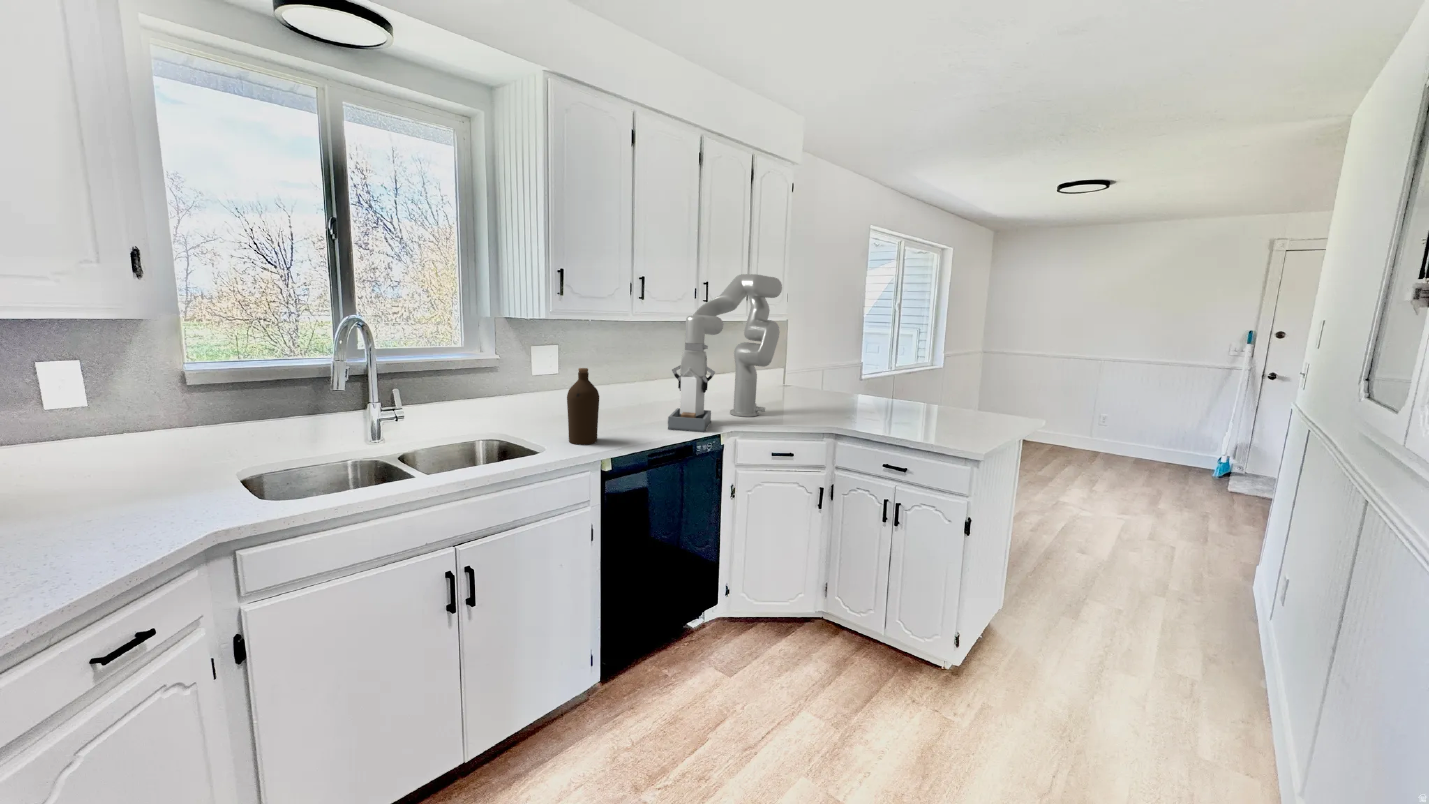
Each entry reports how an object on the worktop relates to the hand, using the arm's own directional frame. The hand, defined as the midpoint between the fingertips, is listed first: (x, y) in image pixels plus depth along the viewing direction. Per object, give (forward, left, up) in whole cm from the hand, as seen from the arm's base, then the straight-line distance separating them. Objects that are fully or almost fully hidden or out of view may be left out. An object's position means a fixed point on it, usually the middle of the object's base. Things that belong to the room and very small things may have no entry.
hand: (692, 391), depth 228 cm
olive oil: (+31, +38, -14) cm, 51 cm away
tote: (0, +3, -13) cm, 14 cm away
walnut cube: (0, +8, -13) cm, 15 cm away
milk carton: (0, 0, -10) cm, 10 cm away
